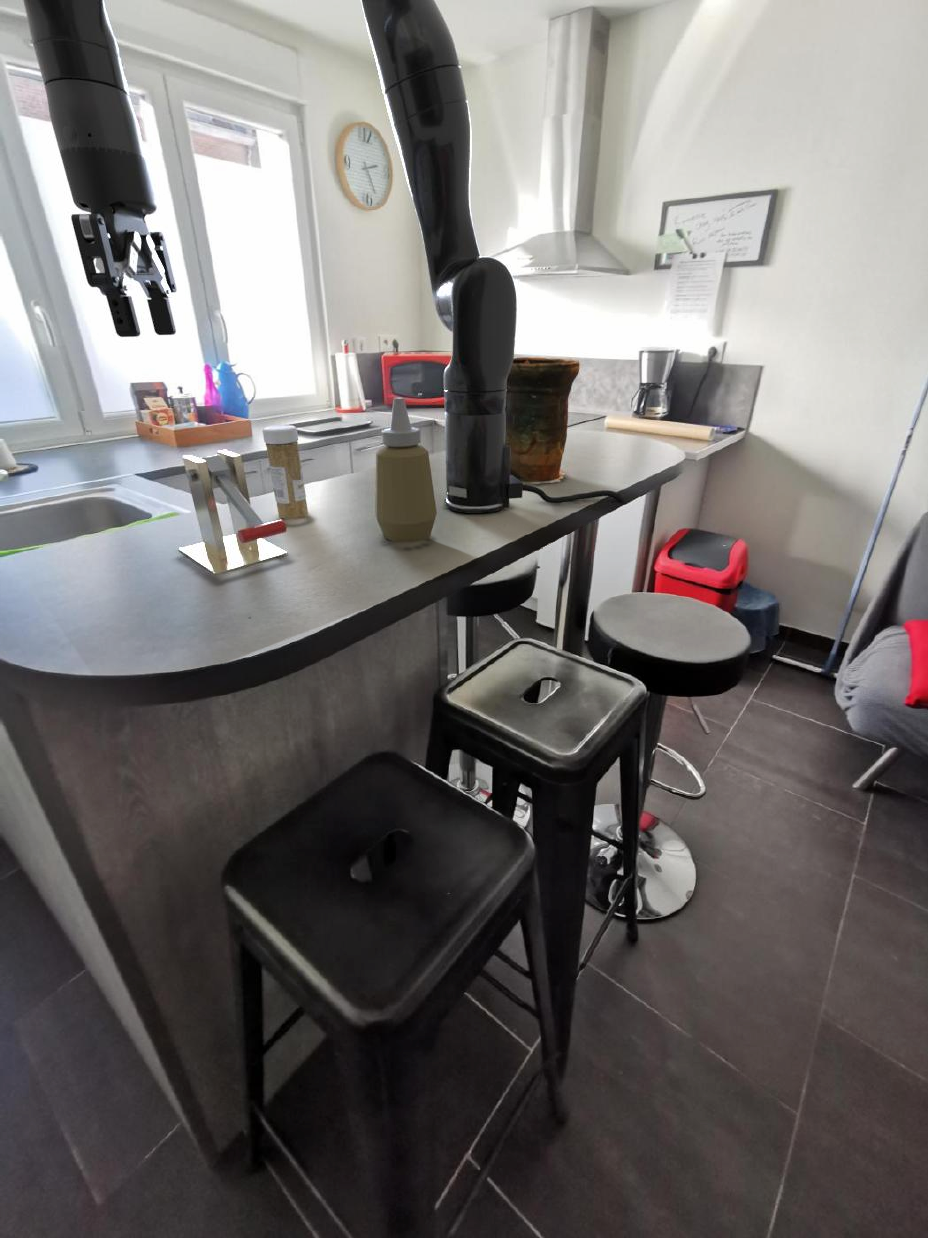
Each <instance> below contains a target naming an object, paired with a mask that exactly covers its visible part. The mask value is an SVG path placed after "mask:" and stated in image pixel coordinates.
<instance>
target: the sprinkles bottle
mask: <svg viewBox="0 0 928 1238" xmlns="http://www.w3.org/2000/svg"><path fill="white" fill-rule="evenodd" d="M262 436H263V442H264V444H265V446H266V453H267V459H268V463H269V464H268V465H269V466H268V467H269V472H270V478H271V483H272V489H273V494H274V500H275V503H276V509H277V514H278V517H279V518H281V519H287V520H288V519H289V520H292V519H299V518H304V517H306V516H308V514H309V510H308V503H307V494H306V488H305V483H304V476H303V470H302V469H303V468H302V464H301V459H300V452H299V442H298V441H299V434H298V430H297V427H296V426H295V425H290V424H289V425H288V424H278V425H277V424H276V425H269V426H266V427H264V428H263V429H262Z"/></svg>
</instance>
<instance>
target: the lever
mask: <svg viewBox="0 0 928 1238" xmlns="http://www.w3.org/2000/svg"><path fill="white" fill-rule="evenodd" d="M199 459H202V460H205V461H206V462H207V466H208V471H209V475H210V480H211V484H212V489H213V490H214V489H218V488H219V489H220V490H221V491H222V492H223V493H224V494H225V496H226V498H227V497H228V498H229V500H230V501H231V502H232V504H233V505H234V506H235V507H236V509H237V510H238V511H239V513H240V514H241V515H242V516H243V518H244V519H245V520H246V521H247V523H248V524H249V525H250V528H246V529H242V530H239V531H238V538H239V540H240V542H241V543H247V542H251V541H255V540H258V539H262V540H263V539H265V538H270V537H273V536H274V537H275V536H276V535H281V534H285V533H286V532H287V530H288V529H287V524H286V522H285V521H284V520H283V519H279V520H274V521H271V522H266V523H265V522H264V520H262V518H261V517H260V516H259V514H258V513H257V512H256V511H255V509H253V507H252V505H251V506H250V505H249V503H248V502H247V501H246V500H245V498H244V497H243V496H242V495H241V493H240V492H239V491H238V490H237V488H236V487H235V486H234V485H233V483H232V482H231V481H230V468H229V467H228V465H227V464H226V463H225V462H224V461H223V459H222V458H221V457H220V456H219V455H218V454H214V455H209V456H202V457H200V458H199Z"/></svg>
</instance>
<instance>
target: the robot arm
mask: <svg viewBox="0 0 928 1238" xmlns="http://www.w3.org/2000/svg"><path fill="white" fill-rule="evenodd" d="M22 2H23V6H24V10H25V14H26V19H27V25H28V29H29V33H30V38H31V43H32V46H33V49H34V52H35V56H36V60H37V64H38V67H39V70H40V75H41V79H42V82H43V85H44V90H45V94H46V99H47V106H48V107H47V108H48V113H49V117H50V118H49V119H50V122H51V125H52V129H53V133H54V136H55V137H54V138H55V140H56V144H57V147H58V151H59V154H60V155H59V156H60V158H61V161H62V165H63V169H64V173H65V176H66V180H67V183H68V187H69V190H70V191H69V192H70V194H71V198H72V201H73V203H74V206H75V207H76V208H78V209H79V210H81V211H83V212H86V213H72V214H71V216H70V219H71V225H72V227H73V231H74V235H75V239H76V242H77V247H78V251H79V255H80V259H81V263H82V267H83V270H84V275H85V278H86V281H87V283H88V286H90V287H91V288H97V289H98V290H99V291H100V294H102V295H103V296H105V297H106V301H107V304H108V308H109V312H110V315H111V320H112V322H113V327H114V331H115V334H116V335H117V336H119V338H134V337H135V338H138V337H140V336H141V329H140V325H139V322H138V317H137V314H136V313H137V312H136V310H135V305H134V302H133V297H132V296H130V292H131V282H132V280H133V281H136V282H138V283H139V284H140V287H141V288H142V290H143V292H144V294H145V296H146V297H147V299H146V302H147V305H148V308H149V313H150V318H151V322H152V327H153V330H154V332H155V334H156V335H158V336H174V335H176V332H177V329H176V325H175V322H174V317H173V311H172V309H171V308H172V307H171V304H170V299H171V298H172V293H177V285H176V281H175V277H174V273H173V268H172V263H171V260H170V255H169V252H168V248H167V244H166V239H165V236H164V234H163V233H162V231H149V228H148V226H147V223H146V220H145V219H146V216H148V215H149V216H150V215H153V214H155V213H156V212H157V208H158V207H157V206H158V205H157V202H156V196H155V193H154V188H153V184H152V180H151V179H152V178H151V176H150V171H149V166H148V162H147V158H146V152H145V148H144V143H143V139H142V135H141V130H140V126H139V123H138V120H137V117H136V114H135V111H134V108H133V105H132V102H131V98H130V93H129V88H128V83H127V80H126V75H125V70H124V67H123V66H124V65H123V62H122V57H121V54H120V50H119V46H118V43H117V40H116V37H115V33H114V30H113V27H112V25H111V22H110V21H111V20H110V18H109V14H108V10H107V7H106V3H105V0H22ZM360 3H361V7H362V12H363V16H364V20H365V24H366V29H367V32H368V33H367V34H368V36H369V41H370V44H371V48H372V51H373V55H374V59H375V63H376V68H377V71H378V72H377V73H378V76H379V81H380V85H381V89H382V94H383V97H384V101H385V106H386V109H387V113H388V116H389V120H390V124H391V128H392V132H393V136H394V138H395V142H396V145H397V149H398V152H399V155H400V159H401V162H402V166H403V170H404V171H403V172H404V174H405V179H406V182H407V186H408V188H409V189H408V190H409V192H410V196H411V199H412V204H413V207H414V210H415V213H416V217H417V221H418V224H419V228H420V232H421V238H422V242H423V247H424V253H425V259H426V265H427V270H428V277H429V284H430V288H431V294H432V300H433V304H434V308H435V312H436V314H437V316H438V318H439V320H440V321H441V323H442V325H443V326H444V327H445V328H446V329H447V330H448V331H449V332H451V333H452V349H451V351H452V352H451V358H450V361H449V363H448V364H447V366H445V369H444V371H443V402H444V403H443V404H444V443H445V446H444V447H445V474H446V475H445V482H446V491H445V492H446V497H445V503H446V507H447V508H448V509H449V510H451V511H454V512H459V513H463V514H487V513H493V512H497V511H499V510H502V509H509V508H510V500H512V499H513V500H514V499H522V498H523V493H524V492H523V491H525V492H530V493H534V494H536V495H538V496H539V497H540V498H541V499H542V500H543V501H544V502H546V503H548V504H563V503H571V502H575V501H581V500H588V499H595V498H601V497H610V498H613V499H615V500H616V501H617V502H618V503H620V504H621V503H622V504H624V503H625V504H626V503H627V499H626V498H625V497H624V496H623V495H622V494H620V493H618V492H617V491H613V490H609V489H604V490H603V489H602V490H596V491H595V490H594V491H590V492H583V493H574V494H571V495H564V496H556V497H553V496H549V495H548V494H547V493H546V492H545V490H543V489H542V488H539V487H538V486H534V485H532V484H523V483H522V482H521V481H520V480H518V479H517V478H516V477H514V476H513V475H510V451H511V448H510V445H509V444H507V443H506V434H507V390H508V389H507V388H508V377H509V374H510V371H511V368H512V365H513V360H514V358H515V348H516V333H517V316H518V315H517V313H518V297H517V288H516V283H515V280H514V277H513V275H512V273H511V271H510V269H509V268H508V267H507V265H506V264H504V263H503V262H502V261H501V260H499V259H497V258H495V257H492V256H481V253H480V252H481V251H480V249H479V245H478V241H477V237H476V236H477V235H476V233H475V228H474V223H473V217H472V210H471V169H472V167H471V166H472V124H471V123H472V122H471V116H470V110H469V103H468V98H467V93H466V88H465V84H464V83H465V82H464V79H463V78H464V77H463V74H462V73H463V72H462V69H461V63H460V59H459V56H458V52H457V48H456V45H455V41H454V39H453V36H452V34H451V32H450V29H449V27H448V25H447V23H446V20H445V19H444V16H443V15H442V13H441V10H440V8H439V7H438V4H437V2H436V1H435V0H360ZM97 270H98V271H99V272H97ZM619 645H621V643H619Z"/></svg>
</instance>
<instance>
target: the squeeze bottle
mask: <svg viewBox="0 0 928 1238" xmlns="http://www.w3.org/2000/svg"><path fill="white" fill-rule="evenodd" d="M391 409H392V410H391V417H390V424H389V427H387V428H384V429H382V430H381V439H382V440H381V441H382V445H384V446H381V447H380V448H379V449H378V450H377V451H376V452H375V490H374V491H375V493H374V496H375V499H374V516H375V519H376V521H377V524H378V526H379V528H380V530H381V533H382V535H383V537H384V538H385V539H387V540H389V541H393V542H406V543H407V542H408V543H409V542H416V541H420V540H424V539H427V540H430V538H431V535H432V532H433V528H434V524H435V521H436V518H437V511H438V510H437V505H436V498H435V491H434V484H433V475H432V468H431V462H430V455H429V450H428V449H426V448H425V447H424V445H420V443H421V429H420V428H419V427H413V426H412V425H411V421H410V417H409V414H408V409H407V405H406V402H405V398H404V397H393V402H392V408H391Z"/></svg>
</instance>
